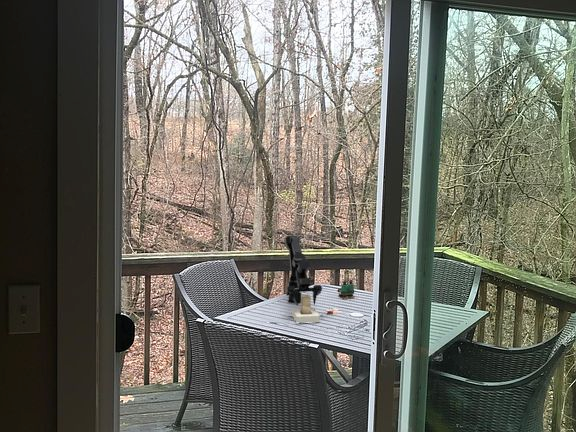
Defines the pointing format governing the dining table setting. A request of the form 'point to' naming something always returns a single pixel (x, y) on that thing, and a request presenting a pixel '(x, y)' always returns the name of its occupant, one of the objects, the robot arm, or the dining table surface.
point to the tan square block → (305, 304)
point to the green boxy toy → (347, 290)
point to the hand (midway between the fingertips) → (306, 304)
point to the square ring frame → (305, 315)
